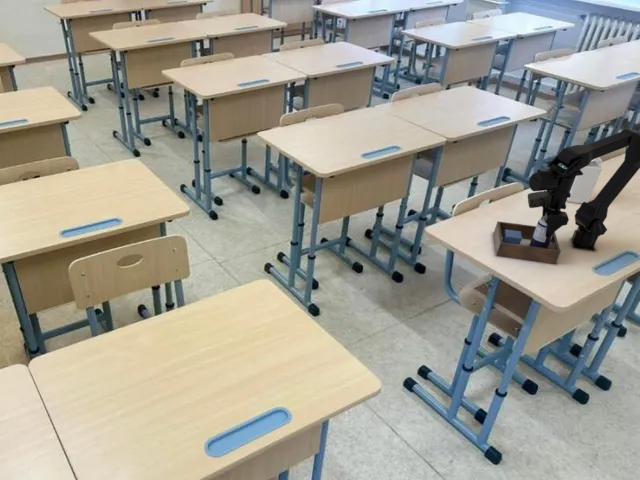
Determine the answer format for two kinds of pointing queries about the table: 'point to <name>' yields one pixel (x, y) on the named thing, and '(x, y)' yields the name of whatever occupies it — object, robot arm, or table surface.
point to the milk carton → (585, 182)
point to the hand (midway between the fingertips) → (545, 230)
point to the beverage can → (540, 235)
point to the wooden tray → (521, 250)
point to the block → (512, 237)
